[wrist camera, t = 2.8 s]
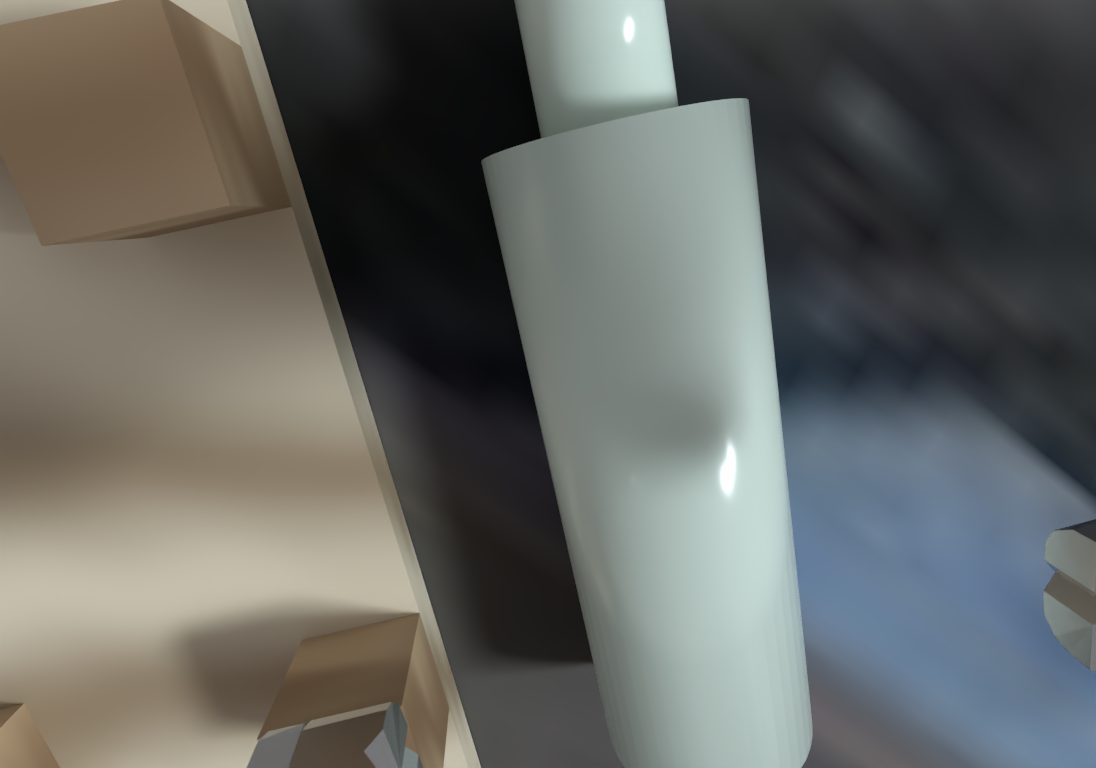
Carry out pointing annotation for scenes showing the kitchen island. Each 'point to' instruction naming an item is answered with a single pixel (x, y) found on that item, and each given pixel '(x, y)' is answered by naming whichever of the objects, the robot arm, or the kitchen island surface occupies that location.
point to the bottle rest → (183, 416)
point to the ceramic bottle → (656, 388)
